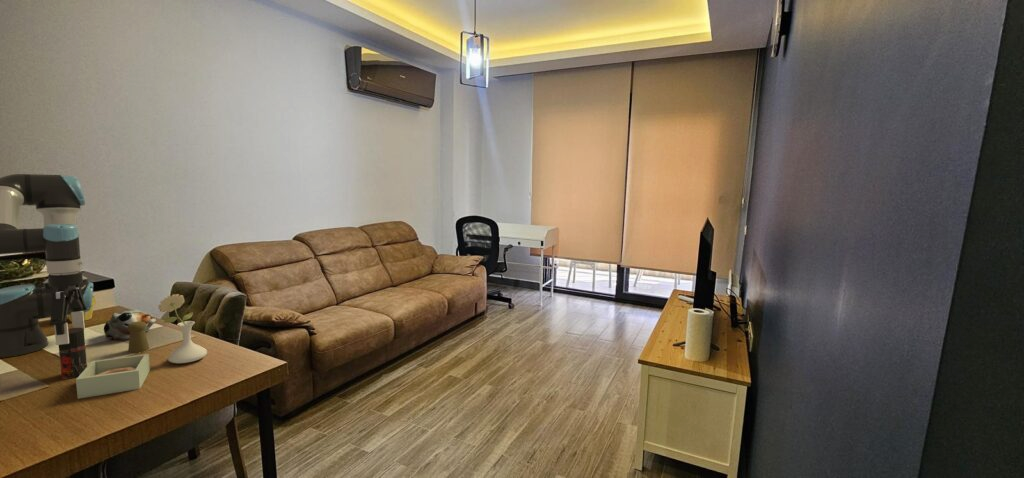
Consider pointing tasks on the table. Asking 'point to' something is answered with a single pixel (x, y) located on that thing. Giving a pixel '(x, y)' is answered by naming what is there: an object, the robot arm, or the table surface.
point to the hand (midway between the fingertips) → (71, 337)
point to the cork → (137, 337)
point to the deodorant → (73, 354)
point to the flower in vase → (187, 348)
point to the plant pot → (87, 314)
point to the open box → (113, 375)
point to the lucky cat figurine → (126, 323)
